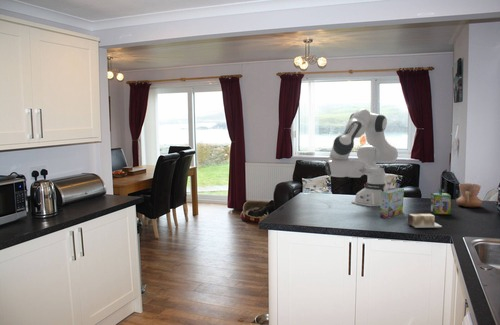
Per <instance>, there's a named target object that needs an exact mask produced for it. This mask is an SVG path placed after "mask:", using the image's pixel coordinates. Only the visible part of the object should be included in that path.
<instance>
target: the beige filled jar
mask: <svg viewBox="0 0 500 325" xmlns="http://www.w3.org/2000/svg"><path fill="white" fill-rule="evenodd" d="M435 217H436V216H435V214H432V213H407V224H409V225H410V226H412V225H434V222H435V220H436V219H435ZM435 223H436V222H435Z"/></svg>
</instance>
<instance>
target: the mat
mask: <svg viewBox="0 0 500 325" xmlns="http://www.w3.org/2000/svg"><path fill="white" fill-rule="evenodd" d="M411 226H412V227H414V228H416V229H417V228H422V229H423V228H424V229H425V228H443V226H442V225H440V224H439V223H437V222H434V225H411Z"/></svg>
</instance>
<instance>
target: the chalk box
mask: <svg viewBox="0 0 500 325" xmlns="http://www.w3.org/2000/svg"><path fill="white" fill-rule="evenodd" d="M437 189H438V192H431V193H430V212H432V213H433V215H451V208H452V207H451V206H452V204H451V200H452V196H451V195H450V193H447V192H442V189H441V188H439V187H438V188H437Z"/></svg>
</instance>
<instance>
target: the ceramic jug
mask: <svg viewBox="0 0 500 325" xmlns="http://www.w3.org/2000/svg"><path fill="white" fill-rule="evenodd" d="M458 187H459V192H460V194H461V196H459V197H458V198H456V203H457V204H458V205H459V206H461V207H463V208H469V209H470V208H474V209H475V208H478V207H481V206H482V205H483V201H482V199H481V198H480V197H478V195H479V193H480V191H481V188H482V186H481V185H480V184H477V183H476V184H475V183H465V182H464V183H459V184H458Z"/></svg>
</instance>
